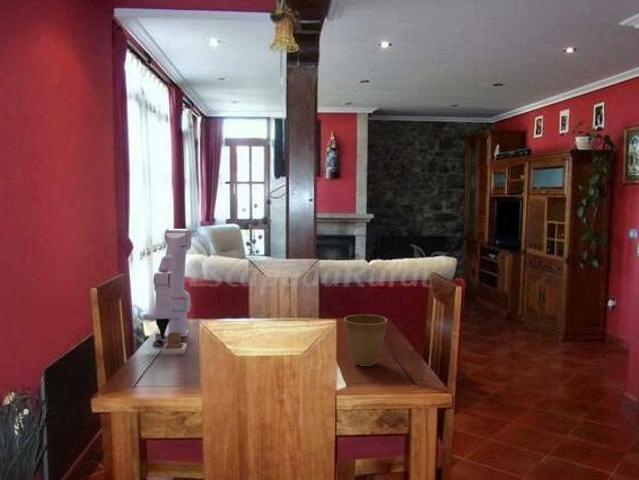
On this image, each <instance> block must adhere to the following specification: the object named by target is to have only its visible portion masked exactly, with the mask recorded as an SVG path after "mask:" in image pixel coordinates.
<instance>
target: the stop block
mask: <svg viewBox="0 0 639 480" xmlns="http://www.w3.org/2000/svg"><path fill="white" fill-rule="evenodd" d="M167 334H168V333H167ZM181 337H182V336H181V333H169V334H168V342H167V343H168V349H169V348H181V343H182V342H181Z"/></svg>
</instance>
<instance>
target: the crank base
mask: <svg viewBox="0 0 639 480" xmlns="http://www.w3.org/2000/svg"><path fill="white" fill-rule="evenodd" d="M176 333H179V332H176ZM165 343H167V342H166V341H164V342H155V340H154V341H153V342H152V346H153V347H163V346H164V344H165Z"/></svg>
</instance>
